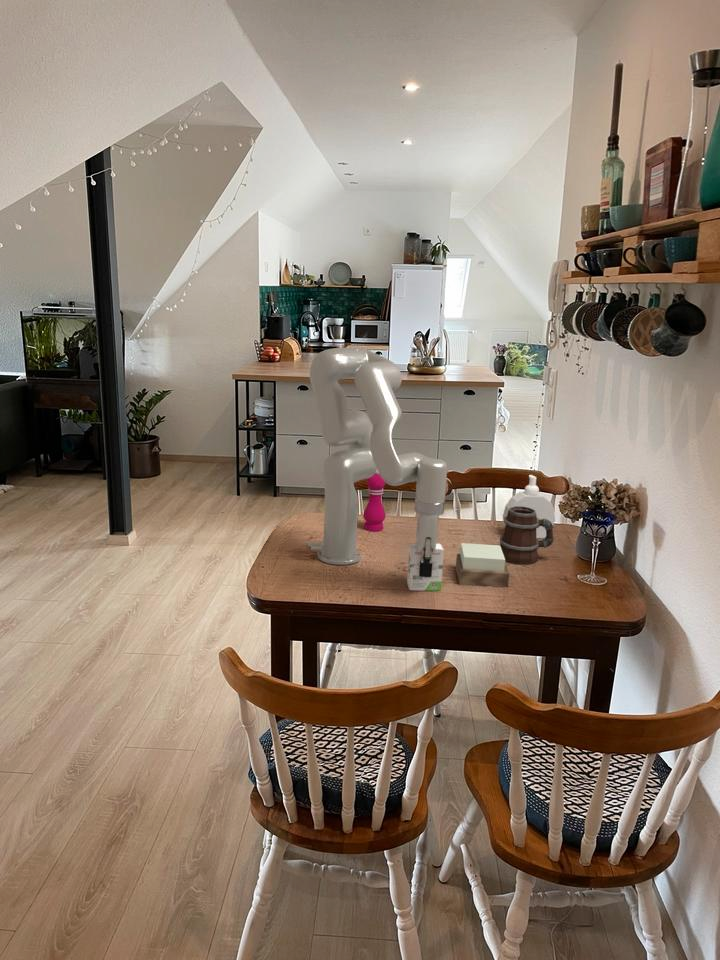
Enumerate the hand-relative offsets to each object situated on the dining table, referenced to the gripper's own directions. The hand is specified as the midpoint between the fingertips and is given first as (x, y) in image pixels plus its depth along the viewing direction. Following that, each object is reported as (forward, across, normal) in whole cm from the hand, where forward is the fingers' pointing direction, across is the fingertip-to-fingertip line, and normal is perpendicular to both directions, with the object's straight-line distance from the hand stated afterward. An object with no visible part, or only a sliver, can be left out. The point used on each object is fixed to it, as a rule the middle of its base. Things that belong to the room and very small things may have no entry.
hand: (424, 571), depth 194 cm
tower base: (+5, -10, +16) cm, 20 cm away
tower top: (+1, -10, +16) cm, 19 cm away
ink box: (+5, 0, 0) cm, 5 cm away
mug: (+5, -27, +31) cm, 41 cm away
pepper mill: (+5, -46, -15) cm, 49 cm away
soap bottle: (+5, -48, +35) cm, 60 cm away
